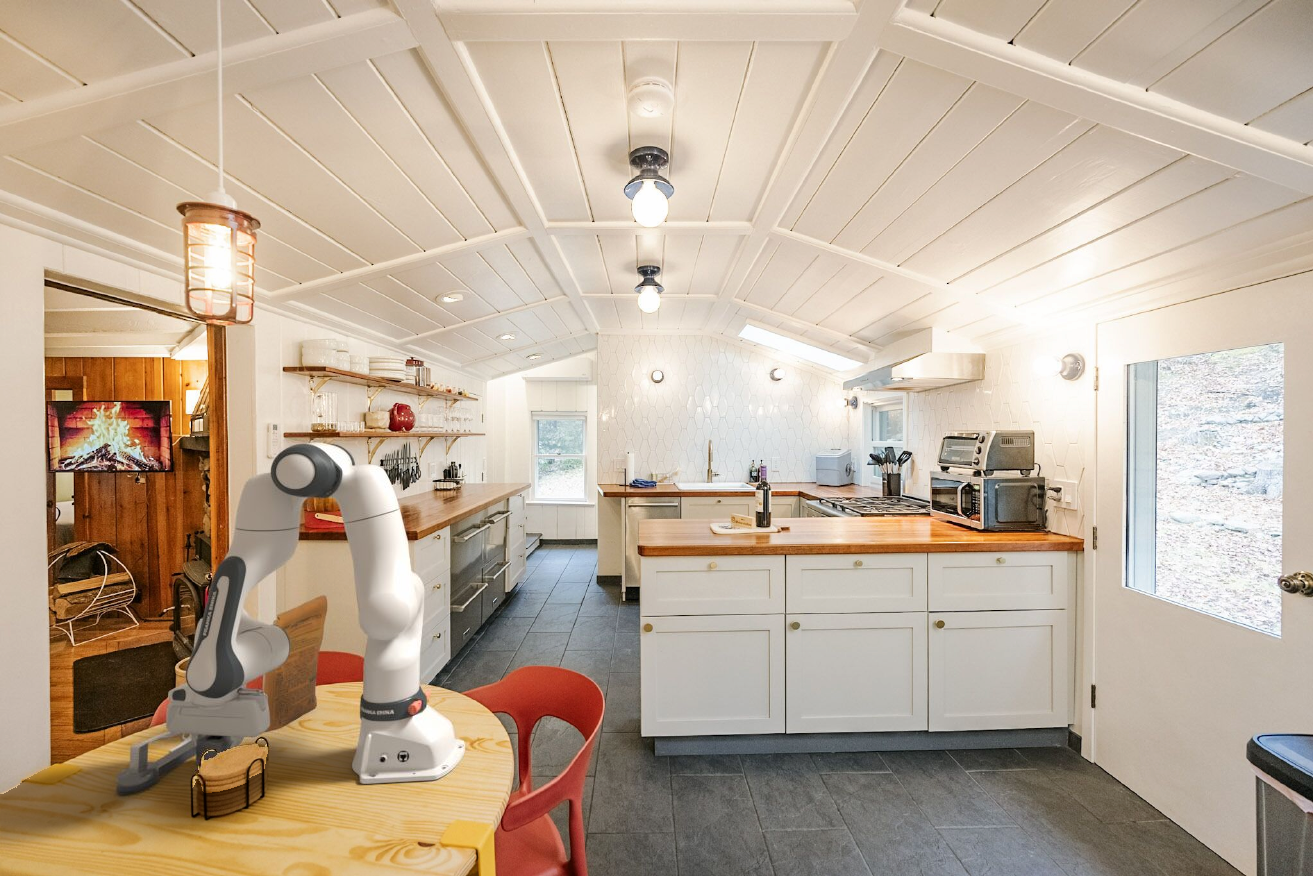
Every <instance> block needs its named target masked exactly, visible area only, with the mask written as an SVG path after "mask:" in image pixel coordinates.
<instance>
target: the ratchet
mask: <svg viewBox="0 0 1313 876" xmlns="http://www.w3.org/2000/svg"><path fill="white" fill-rule="evenodd" d="M204 736H206V735H204ZM194 756H195V757H196V746H195V744H194V742H193V741H192V740H191V741H190V742H188V743H186V744H184V745H183V746H181V747H179V748H178V749H176V750H174V751H172V752H171V753H167V754H165V755H163V756H162V757H160V758H159V759H157V760H156V761H148V757H149V743H148V742H144V741H139V742H137V743H135V744H134V745H131V746H130V750H129V766H128V767H126V768H125V769H123V770H121V771H120V772H119V773H118V774H117V775H116V795H118V796H121V797H123V796H124V797H125V796H126V797H127V796H132V795H136V794H140V793H144V792H145V791H148V790H150V789H151V788H153V787H154V786H156V785H157V784H158V783H159V779H160V778H161V777H163V776H164V775H165V774H168V773H169V772H170V771H173V769H175V768H177V767H178V766H180V765H181V764H184V763H185V762H187V761H189V760H190V759H193V757H194Z"/></svg>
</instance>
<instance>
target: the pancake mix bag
mask: <svg viewBox="0 0 1313 876" xmlns="http://www.w3.org/2000/svg"><path fill="white" fill-rule="evenodd" d="M327 612H328V599H327V595H325V594H323V595H320V596H318V597H316V598H313V599H310V600H308V601H306V602H304V603H302V604H300V605H297V606H296V607H293V608H291V609H289V610H286V611H283V612H281V613H278V614H277V615H276V619H274V620H273V623H272V625H277V626H279V627H281V628H282V629H284V630H285V632H286V633H287V634H288V636H289V639H290V653H289V656H288V658H287V660H286V661H285V662H284V663H283V664H282V665H281V666H279V667H277V668H276V669H274V670H272V671H270V672H268V673H266V674H264V675H262V677H263V678H262V692H264V693H265V694H266V695H267V697H268V706H269V714H270V726H269V727H268V729H267V730H266V731H265V732H264V733H267V732H271V731H272V732H273V731H276V730H279V729H281V728H283V727H285V726H287V725H289V724H290V723H293V722H294V721H295V720H297V719H299V718H301V717H302V716H304V715H306V714H308V713H309V712H311V711H312V710H315V709H317V706H318V703H317V696H316V685H317V675H318V674H317V673H318V661H319V654H320V653H319V652H320V650H321V646H322V642H323V639H324V631H325V630H324V629H325V628H324V627H325V621H326V617H327Z"/></svg>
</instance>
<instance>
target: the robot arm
mask: <svg viewBox="0 0 1313 876" xmlns="http://www.w3.org/2000/svg"><path fill="white" fill-rule="evenodd" d="M308 498H316V499H317V498H318V499H328V498H332V499H334V501H335V502H336V503H337V505H338V507H339V510H340V513H341V518H342V522H343V527H344V530H345V534H346V539H347V541H348V546H349V550H350V554H351V558H352V566H353V576H354V577H353V578H354V587H355V595H356V596H355V597H356V603H357V608H358V624H359V627H360V629H361V630H362V632H363V633H364V634H365V635H367V640H366V645H365V646H366V647H365V652H364V656H363V676H362V677H363V681H362V694H361V696H360V703H359V718H360V728H359V729H360V731H359V735H358V736H359V737H358V741H357V747H356V751H355V754H354V758H353V760H352V763H351V768H352V771H354V772H355V773H356V774H357V775H358V776H359V783H360V784H363V785H364V784H365V785H366V784H367V785H370V784H384V783H402V782H403V783H405V782H419V781H435V780H438V779H441V778H443V777H444V776H446V775H447V774H448V773H450V772H451V771H452V770H454V768H455V767H456V766H457V765H459V763H460V761H461V760H462V758H463V756H464V754H465V752H466V743H465V741H464V740H463V739H458V738H456V736H455V730H454V726H453V723H452V722H451V720H449V718H446V716H444V715H442V714H441V713H439V712H438V711H437V710H436V709H434V708H433V707H431V705H429V704H428V701H427V700H428V698H429V697H431V695H432V694H431V692H432V690H431V689H429V690H428V691H427V692H426V693H425V692H424V691H423V689H422V687H421V685H420V680H421V679H420V678H421V677H420V676H421V674H420V673H421V671H420V670H421V649H422V648H421V646H422V637H423V627H424V625H423V623H424V613H425V593H426V590H425V585H424V583H423V580H422V579H421V578H420V575H418V574H417V573H416V572H414V571H412V566H411V565H412V564H411V559H410V557H411V556H410V548H409V547H410V545H409V540H408V536H407V533H406V528H405V525H404V520H403V516H402V513H401V509H400V504H399V501H398V498H397V494H396V492H395V489H394V487H393V484H392V482H391V481H390V478H389V477H388V474H387V472H386V471H385V469H384V468H382V467H381V466H378V465H376V464H371V463H370V464H368V463H365V464H364V463H363V464H359V465H357V464H356V462H355V458H354V456H353V455H352V453H350V451H349V450H347V449H346V448H345V447H343V446H341V445H339V444H335V443H324V442H321V441H320V442H317V441H316V442H306V443H297V444H293V445H291V446H288V447H286V448H285V449H283V450H282V451H280V452H279V453H278V454H277V455H276V456H275V458H274V459H273V461H272V462H271V467H270V472H263V473H260V474H255V476H252V477H250V478H249V479H247V481H245V482H244V485H243V488H242V491H241V494H240V497H239V501H238V507H237V509H236V517H235V524H234V533H233V537H232V541H231V544H230V547H229V549H228V550H227V551H228V552H227V554H226V555H225V557H224V559H223V560H222V561H221V563H220V564H219V565H218V566H217V568H216V569H215V572H214V575H213V577H212V581H211V584H210V587H209V591H208V595H207V598H206V599H207V601H206V604H205V608H204V612H203V617H201V618H200V619H199V621H198V622H197V626H196V629H195V635H194V644H193V650H192V652H191V655H190V657H189V659H188V662H187V664H186V668H185V681H186V682H185V683H182V684H180V685H178V686H176V687H174V688H173V689H171V690H169V691H168V693H167V695H168V696H167V697H168V698H167V699H168V700H169V701H170V702H169V703H168V705H167V709H166V717H165V725H166V727H165V728H166V729H167V732H170V733H178V734H180V735H181V734H182V735H183V734H185V735H189V734H192V736H191V739H192V741H193V742H194V744H195V746H197V741H198V740H199V739H201V738H203V737H205V736H204V735H216V736H231V741H233V743H232V745H231V746H230V747H228V748H226V750H227V749H231V748H233V747H237V746H239V747H240V745H241V743H242V742H243V740H244V739H245V738H256V737H258V736H260V735H262V734H263V733H266V732H265V731H266V730H267V729H268V727H269V726H270V714H269V706H268V697H267V695H266V694H265V693H264V692H263V689H260V688H253V689H252V688H247V684H248V683H250V682H252V681H254V680H256V679H258V678H260V677H263V675H264V674H266V673H268V672H270V671H272V670H274V669H276V668H277V667H279V666H281V665H282V664H283V663H284V662H285V661H286V660H287V658H288V656H289V653H290V639H289V636H288V634H287V633H286V632H285V630H284V629H282V628H281V627H279V626H277V625H273V624H269V623H264V622H262V621H259V620H258V619H255V618H254V617H252V616H250V615H249V613H248V611H247V610H245V609H244V606H245V602H246V600H247V598H248V597H249V596H248V595H249V594H250V593H251V591H252V590H254V588H256V586H257V585H258V584H259V583H260V582H261V581H263V580H264V579H266V578H267V577H269V576H270V575H271V574H272V573H274V572H275V571H277V570H279V569H280V568H282V567H284V565H285V564H286V563H288V561H290V560H291V559H292V557H293V556H294V554H295V552H296V549H297V546H298V543H299V537H300V526H301V513H302V512H301V511H302V507H303V504H304V503H305V501H306V500H307V499H308Z"/></svg>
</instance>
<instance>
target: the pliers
mask: <svg viewBox="0 0 1313 876" xmlns="http://www.w3.org/2000/svg"><path fill="white" fill-rule="evenodd" d="M180 735H181V734H178V733H170V732H169V731H167V732H164V733H161V734H158V735H156V736H153V737H150V738H148V739H146V740H144V741H143V742H148V744H150V743H153V742H155V741H158V740H163V739H169V738H173V737H174V738H175V737H177V736H180ZM185 736H186V734H182V737H181V740H183V741H182V742H181V743H180V744H178V745H176V746H175V747H173V748H172V749H169V751H168V752H169V753H171V752H172V751H174V750H176V749H178V748H179V747H181V746H183V745H184V744H186V743H188V742H190V741H191V740H192V739H191V736H192V734H188V736H187V737H185ZM169 753H168V754H169Z"/></svg>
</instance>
